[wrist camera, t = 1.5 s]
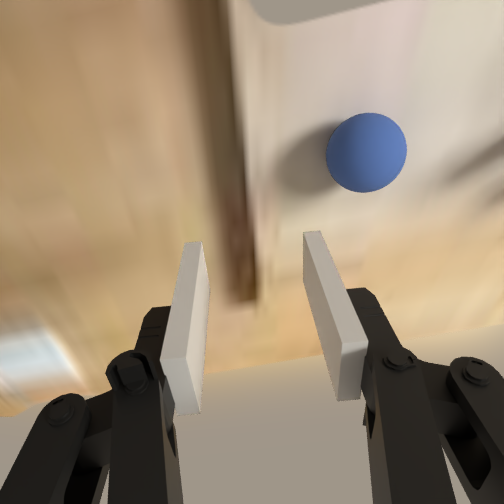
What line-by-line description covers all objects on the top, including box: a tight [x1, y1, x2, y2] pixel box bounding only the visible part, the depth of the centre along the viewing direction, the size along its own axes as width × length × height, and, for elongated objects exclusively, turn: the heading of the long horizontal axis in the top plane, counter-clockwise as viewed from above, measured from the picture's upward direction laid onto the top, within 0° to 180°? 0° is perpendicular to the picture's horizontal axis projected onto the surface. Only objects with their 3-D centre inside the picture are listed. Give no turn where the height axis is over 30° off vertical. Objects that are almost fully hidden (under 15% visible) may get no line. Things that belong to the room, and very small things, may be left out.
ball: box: [326, 113, 407, 193], centre depth 28 cm, size 6×6×6 cm
